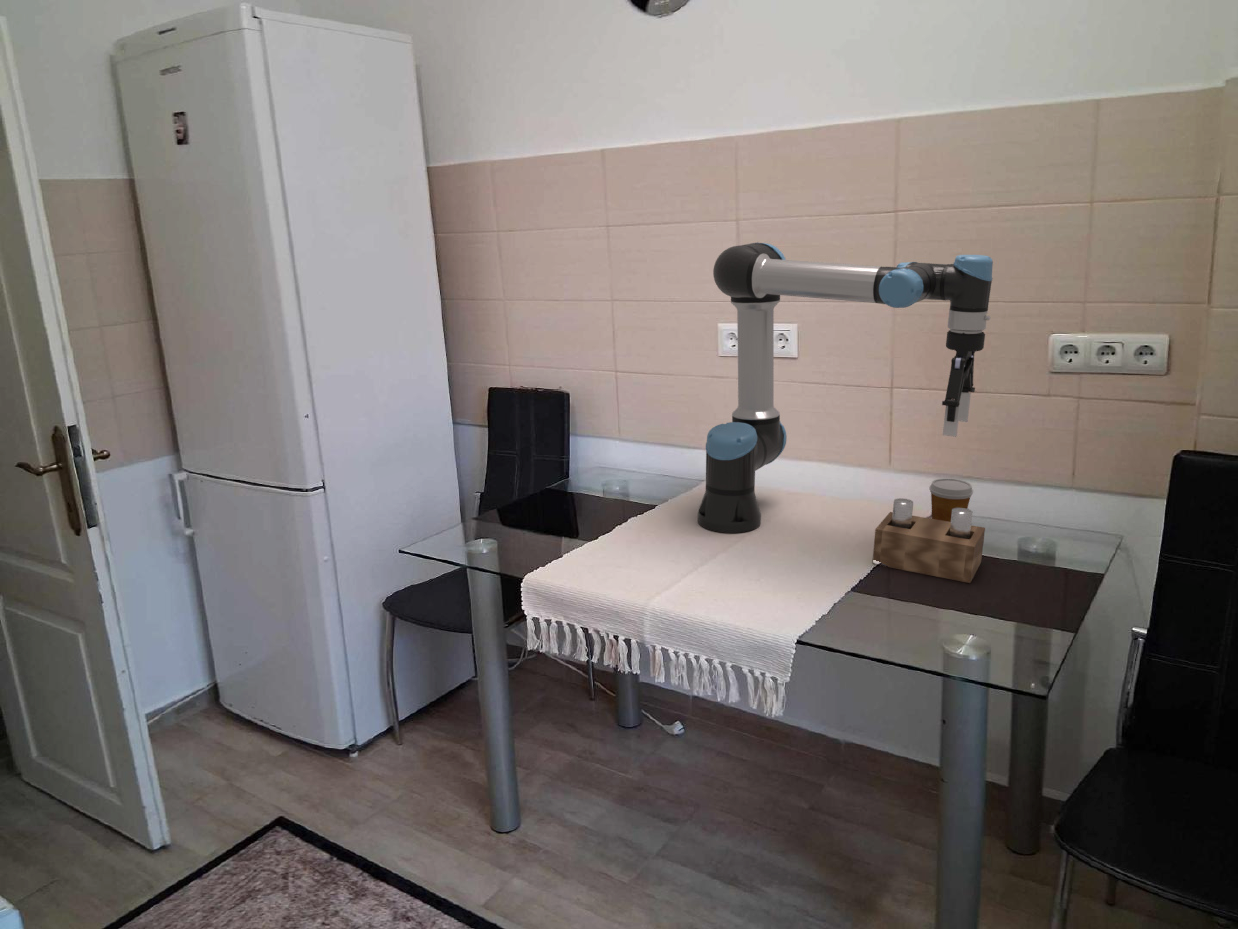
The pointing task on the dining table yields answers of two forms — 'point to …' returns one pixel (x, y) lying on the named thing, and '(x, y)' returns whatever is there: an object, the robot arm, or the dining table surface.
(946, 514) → the disposable coffee cup
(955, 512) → the pin
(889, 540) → the socket block
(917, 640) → the dining table surface
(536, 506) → the dining table surface
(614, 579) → the dining table surface
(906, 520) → the pin
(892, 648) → the dining table surface
